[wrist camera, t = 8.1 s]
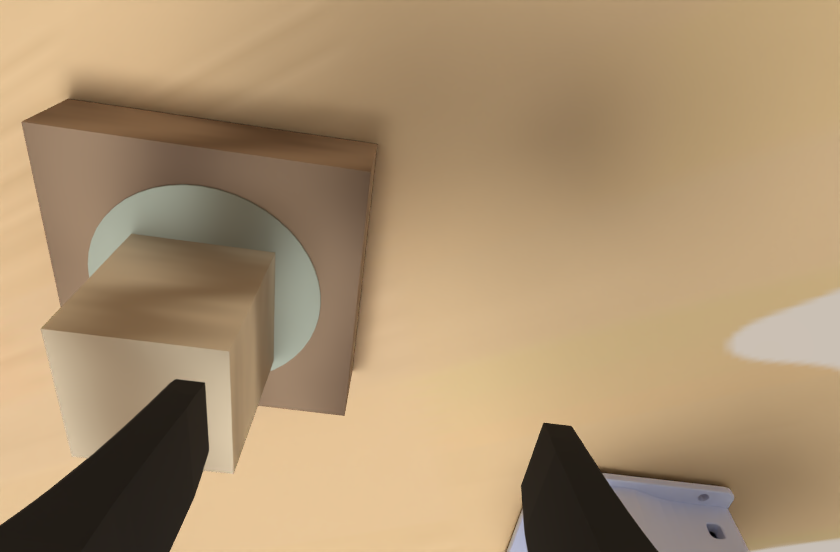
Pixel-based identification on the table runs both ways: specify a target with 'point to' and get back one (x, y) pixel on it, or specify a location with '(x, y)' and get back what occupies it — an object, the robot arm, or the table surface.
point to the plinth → (218, 218)
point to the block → (165, 340)
